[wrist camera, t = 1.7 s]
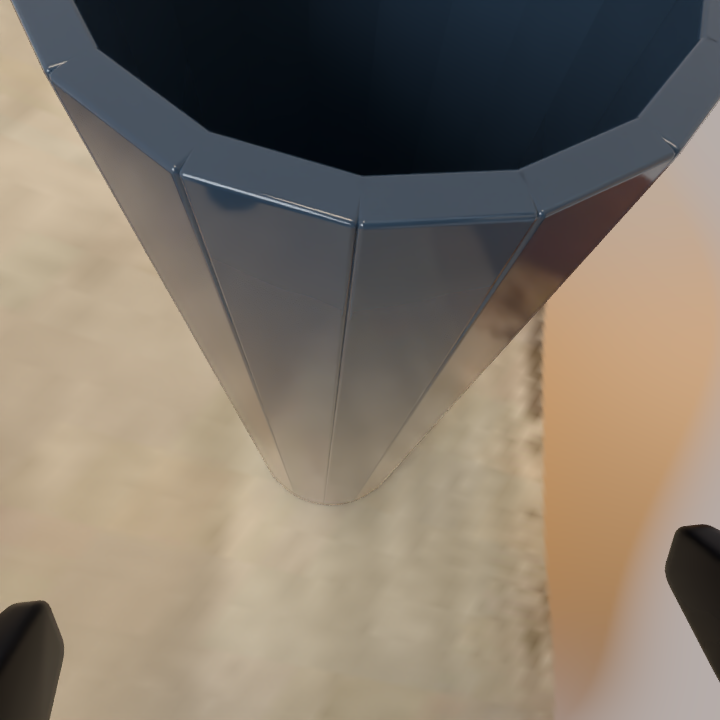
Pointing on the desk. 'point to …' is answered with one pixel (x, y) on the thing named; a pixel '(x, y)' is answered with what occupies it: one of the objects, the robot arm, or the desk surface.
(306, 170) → the faceted blue cylinder
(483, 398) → the desk surface
